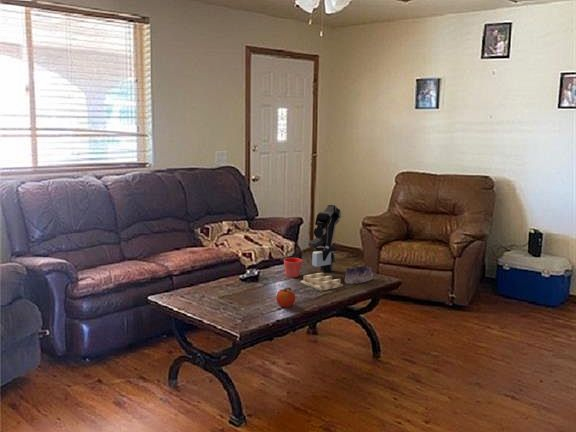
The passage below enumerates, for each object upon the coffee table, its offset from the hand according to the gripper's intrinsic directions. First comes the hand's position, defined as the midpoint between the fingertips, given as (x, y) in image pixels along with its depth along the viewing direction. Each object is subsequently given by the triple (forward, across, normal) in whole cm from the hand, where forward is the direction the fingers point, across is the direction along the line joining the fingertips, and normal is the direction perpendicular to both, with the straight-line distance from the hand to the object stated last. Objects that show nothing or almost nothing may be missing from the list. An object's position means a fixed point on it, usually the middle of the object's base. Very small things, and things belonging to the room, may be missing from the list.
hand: (321, 260), depth 349 cm
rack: (+10, +12, -10) cm, 19 cm away
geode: (+10, +18, +13) cm, 24 cm away
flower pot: (+10, -10, -14) cm, 20 cm away
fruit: (+10, +31, -50) cm, 60 cm away
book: (+3, 0, 0) cm, 3 cm away
